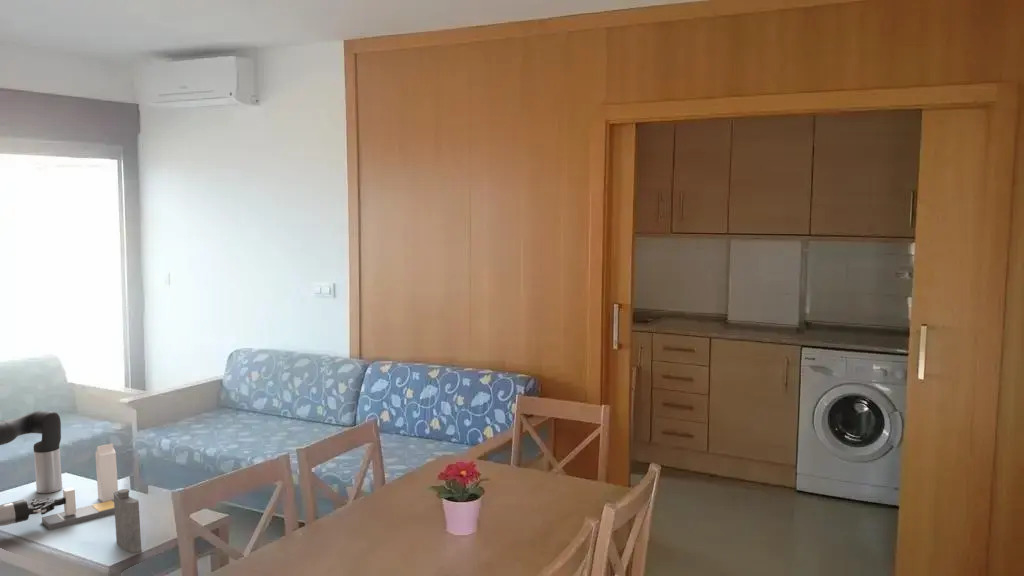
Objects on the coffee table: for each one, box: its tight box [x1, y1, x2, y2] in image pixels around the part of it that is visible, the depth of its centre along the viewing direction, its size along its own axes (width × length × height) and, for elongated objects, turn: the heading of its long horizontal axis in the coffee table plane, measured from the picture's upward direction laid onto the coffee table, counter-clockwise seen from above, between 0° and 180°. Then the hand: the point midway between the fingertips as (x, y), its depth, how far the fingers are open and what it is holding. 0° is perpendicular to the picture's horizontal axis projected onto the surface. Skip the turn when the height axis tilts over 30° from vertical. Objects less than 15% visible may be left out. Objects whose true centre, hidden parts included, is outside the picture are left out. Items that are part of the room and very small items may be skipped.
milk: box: [94, 443, 119, 503], centre depth 323 cm, size 6×6×22 cm
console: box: [41, 499, 115, 531], centre depth 305 cm, size 10×26×2 cm, turn 134°
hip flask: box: [113, 488, 142, 554], centre depth 276 cm, size 16×4×20 cm, turn 47°
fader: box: [62, 487, 77, 516], centre depth 301 cm, size 4×3×9 cm
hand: (64, 500), depth 300 cm, fingers closed
